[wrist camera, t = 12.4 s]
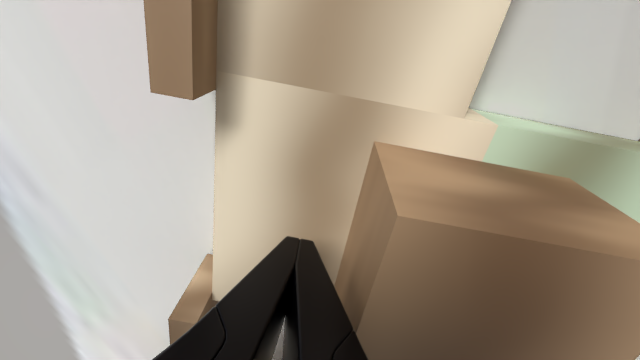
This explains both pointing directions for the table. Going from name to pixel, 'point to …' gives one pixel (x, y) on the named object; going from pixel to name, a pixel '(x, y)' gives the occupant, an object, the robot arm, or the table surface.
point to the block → (487, 264)
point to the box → (344, 116)
